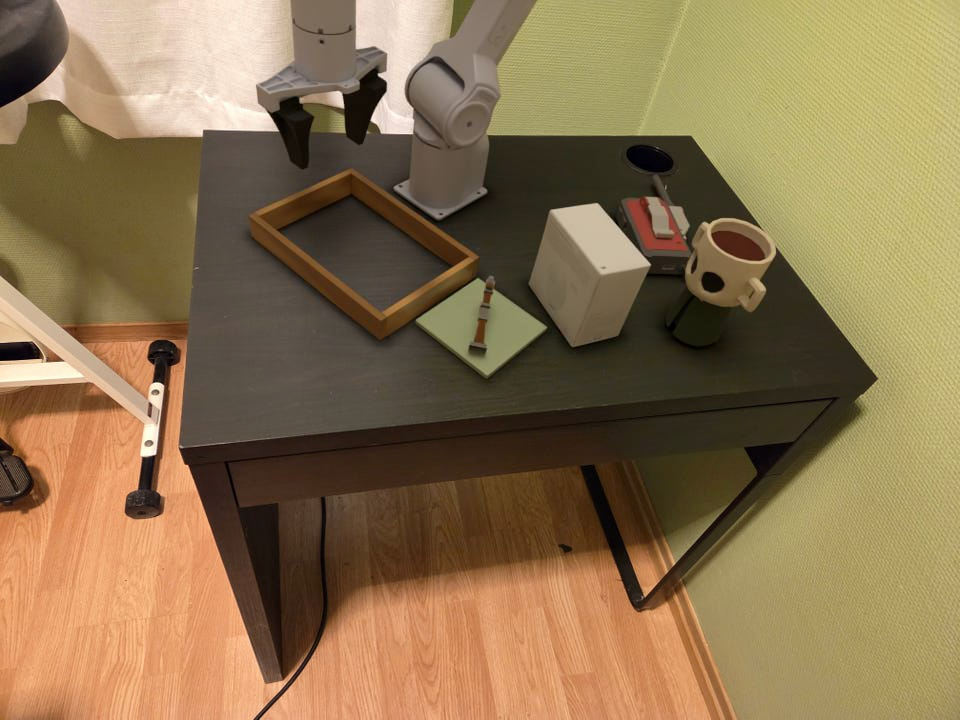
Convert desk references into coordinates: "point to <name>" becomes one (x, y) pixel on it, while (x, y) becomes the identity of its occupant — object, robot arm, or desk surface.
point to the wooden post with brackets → (483, 318)
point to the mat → (459, 324)
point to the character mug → (720, 278)
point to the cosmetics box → (587, 273)
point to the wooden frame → (330, 286)
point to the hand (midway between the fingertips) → (327, 151)
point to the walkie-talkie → (656, 230)
